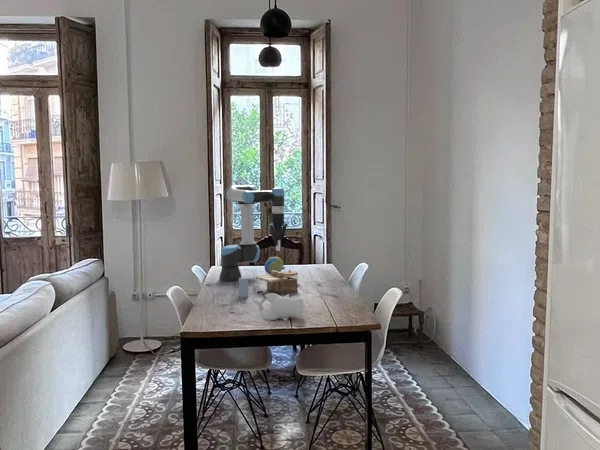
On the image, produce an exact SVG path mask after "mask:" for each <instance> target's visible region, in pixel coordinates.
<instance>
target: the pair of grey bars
mask: <svg viewBox="0 0 600 450" xmlns="http://www.w3.org/2000/svg"><path fill="white" fill-rule="evenodd" d="M256 293H257V294H260V293H261V295H262V296H265V294H269V293H270V292H269V291H264V289H262V290H261V289H259V290H256Z"/></svg>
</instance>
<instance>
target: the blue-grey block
mask: <svg viewBox="0 0 600 450" xmlns="http://www.w3.org/2000/svg"><path fill="white" fill-rule="evenodd" d="M238 296H239V298H249V278H248V277H245V276H243V277H242V276H241V278H239V280H238Z"/></svg>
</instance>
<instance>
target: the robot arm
mask: <svg viewBox="0 0 600 450" xmlns="http://www.w3.org/2000/svg"><path fill="white" fill-rule="evenodd" d="M223 193H224V194H223V196H224V198H225V200H227V201H228V202H231V203H238V206H239V207H240V225H241V226H240V229H241V241H240V243H239V244H229V245H225V246H222V248H221V253H220V255H221V271H220V273H219V277H218V279H220V280H219V281H221V280H223V282H235V280H237V281H239V278H242V273H241V270H240V267H239V265H240V264H246V263H255V262H257V261H258V260H259V258H260V253H261V250H260V246H259V245H258V244H257V242H256V241H255V229H254V206H255V205H256V204H257V203H259V204H260V203H261V204H262V203H264V204H265V203H271V212H272V213H271V223H270V224H269V223H268V227H269V230H270V235H271V239H272V240H274V245H275V251H278V252H279V251H281V246H282V240H284V239H285V235H286V231H287V227H288V223H286V222H285V189H284V188H283V187H274V188H273V187H272V189H271V190H270V189H269V190H268V189H267V190H257V187H256V186H254V185H252V184H251V185H250V184H244V185H243V184H237V185H235V184H234V185H233V184H232V185H230V186H227V187H226V188H225V190H224V192H223Z"/></svg>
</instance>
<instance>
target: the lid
mask: <svg viewBox="0 0 600 450" xmlns="http://www.w3.org/2000/svg"><path fill="white" fill-rule="evenodd" d="M282 272H283V271H281V272H278V271H274V270H270V274H264V275H256V276H255V279H258V280H260V281H263V282H266V283H267V282H269V283H271V282H278V281H285V280H288V278H285V277H284V273H282Z"/></svg>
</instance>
